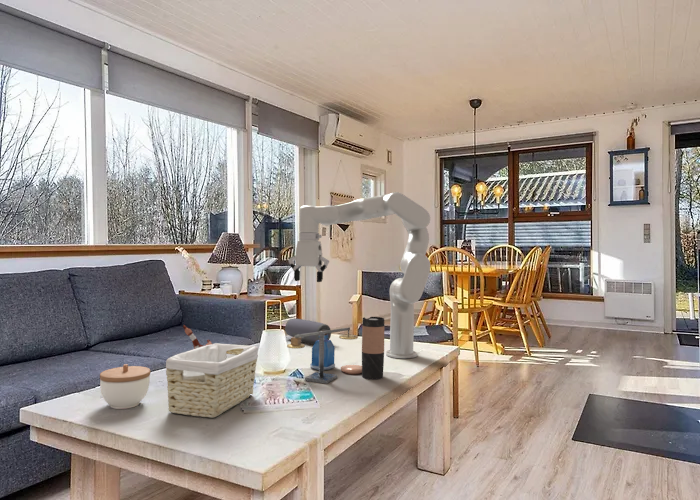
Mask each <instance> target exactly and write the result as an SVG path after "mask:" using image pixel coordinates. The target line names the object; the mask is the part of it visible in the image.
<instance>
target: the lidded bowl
mask: <svg viewBox="0 0 700 500" xmlns="http://www.w3.org/2000/svg"><path fill="white" fill-rule="evenodd" d="M150 375H151V369H150V368H149V367H146V366H140V365H129V364H128V363H126V364H125V363H124V364H123V366H119V367H113V368H109V369H106V370H103V371H102V372H100V373H99V379H100V381H99V382H100V383H99V385H100V394H101V396H102V398H103V400H104V402H106V404H108V405H109V406H110V408H112V409H115V410H126V409H131V408H134V407H136V406H137V407H138V406H139V405H140V403H141V402H142V401H143V399H144V398H145V397H146V396H147V395H148V391H149V388H150V383H151V382H150V380H151V376H150Z"/></svg>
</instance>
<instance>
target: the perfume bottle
mask: <svg viewBox="0 0 700 500" xmlns="http://www.w3.org/2000/svg"><path fill="white" fill-rule="evenodd" d="M319 332H320V331H319ZM327 338H328V333H326V334H325V336H324V367H329V366H330V365H332V364H335V349H336V348H335V345H334V344H333V342H332V340H331V339H329V340H327ZM311 363H312V365H313V366H319V340H318V341H316V342H315V344H313V346H312V348H311Z"/></svg>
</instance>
